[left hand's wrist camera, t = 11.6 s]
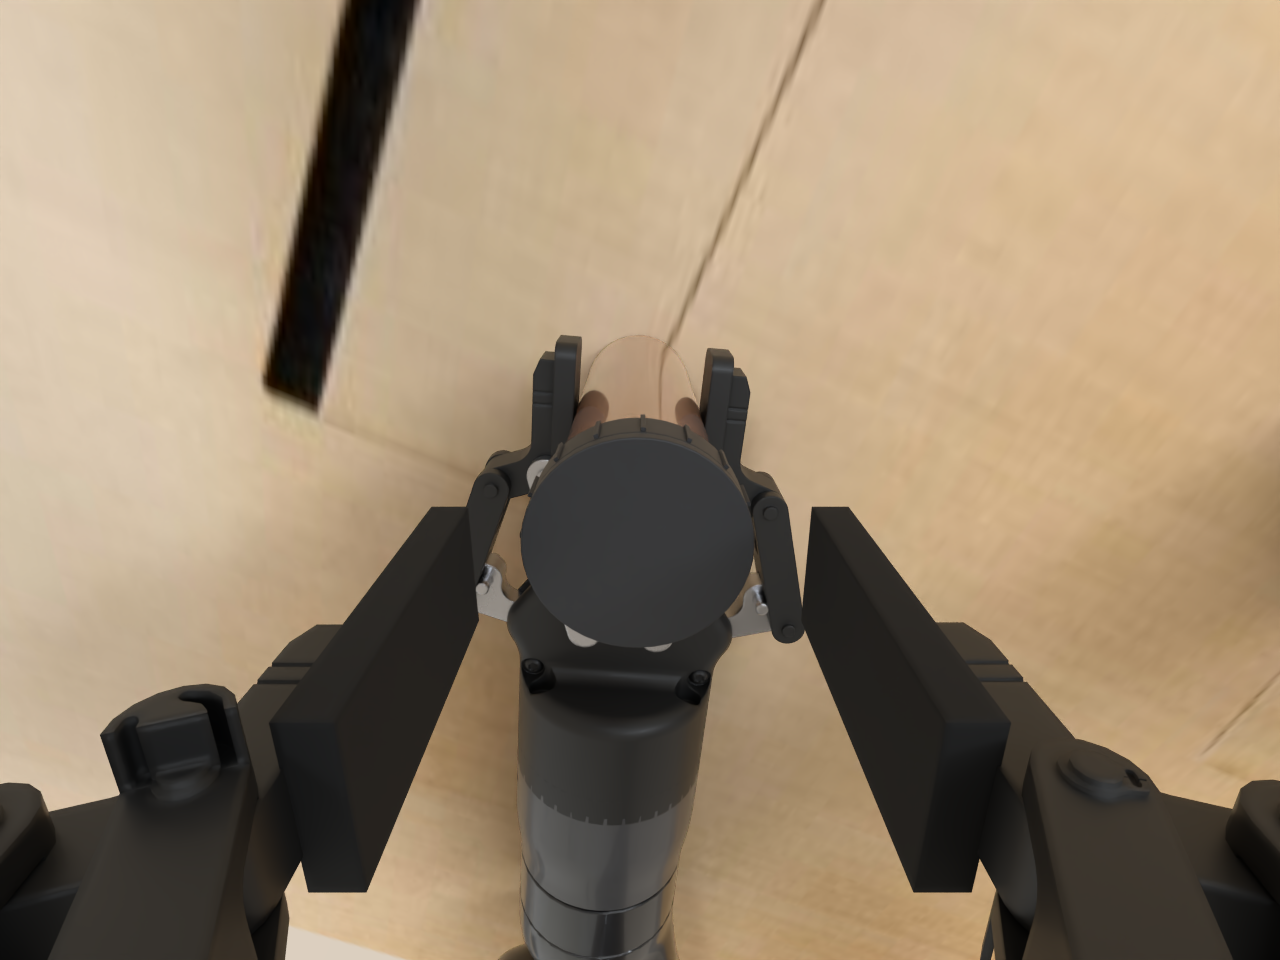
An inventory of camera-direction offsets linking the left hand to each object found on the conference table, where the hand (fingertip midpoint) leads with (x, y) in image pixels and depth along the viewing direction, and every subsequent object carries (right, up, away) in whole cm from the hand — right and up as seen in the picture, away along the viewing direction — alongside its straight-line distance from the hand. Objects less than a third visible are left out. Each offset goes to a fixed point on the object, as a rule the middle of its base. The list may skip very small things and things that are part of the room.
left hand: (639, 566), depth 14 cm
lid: (0, 0, 0) cm, 1 cm away
